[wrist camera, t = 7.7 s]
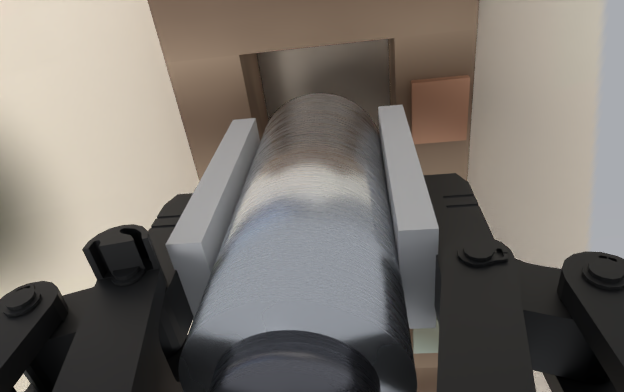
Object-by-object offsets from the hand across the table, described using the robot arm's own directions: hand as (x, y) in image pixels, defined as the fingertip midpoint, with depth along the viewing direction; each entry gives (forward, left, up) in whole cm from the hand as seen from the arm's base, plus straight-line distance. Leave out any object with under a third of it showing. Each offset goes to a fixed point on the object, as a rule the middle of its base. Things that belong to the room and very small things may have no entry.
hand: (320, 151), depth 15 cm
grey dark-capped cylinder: (0, 0, 0) cm, 0 cm away
